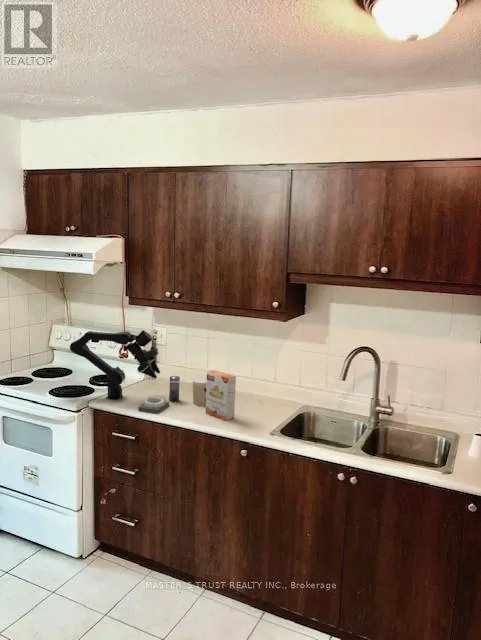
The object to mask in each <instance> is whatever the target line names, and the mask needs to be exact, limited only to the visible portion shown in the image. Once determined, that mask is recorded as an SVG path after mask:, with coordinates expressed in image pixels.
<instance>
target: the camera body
mask: <svg viewBox="0 0 481 640" xmlns="http://www.w3.org/2000/svg"><path fill="white" fill-rule="evenodd" d="M169 406H170V401H166V400H164V399H163V397H154V396H153V397H147V398H145V399H143V404H141V405H140V406H139V407H138V412H143V413H149V414H156V415H158V414H160V413H161V412H163V411H164V410H165V409H166V408H168V407H169Z"/></svg>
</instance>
